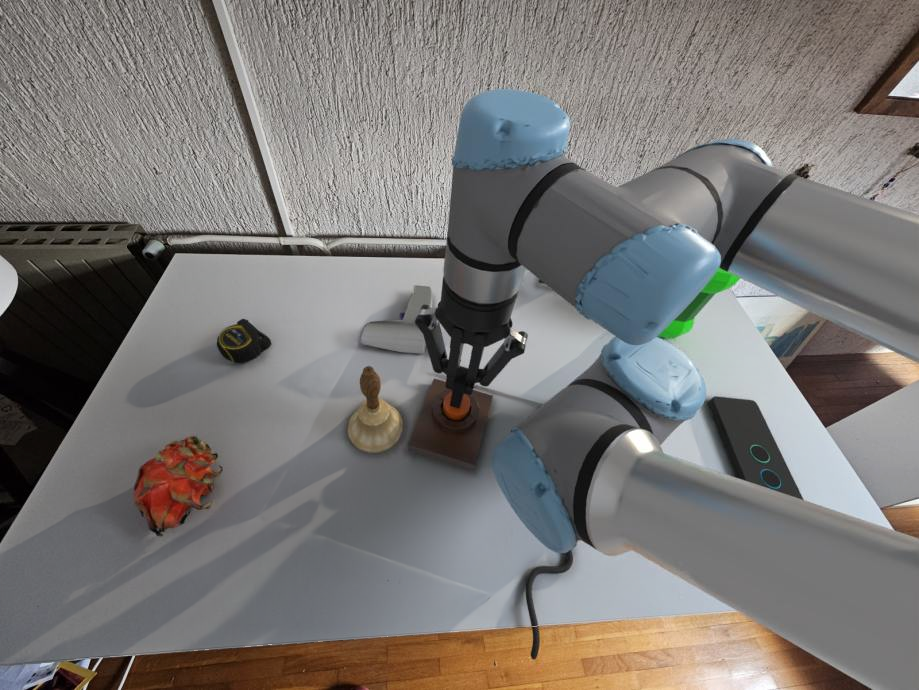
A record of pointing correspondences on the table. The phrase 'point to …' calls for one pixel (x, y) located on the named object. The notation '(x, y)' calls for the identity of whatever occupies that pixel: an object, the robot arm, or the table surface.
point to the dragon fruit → (175, 483)
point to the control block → (450, 428)
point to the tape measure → (242, 342)
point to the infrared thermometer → (400, 327)
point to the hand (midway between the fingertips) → (457, 399)
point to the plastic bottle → (699, 304)
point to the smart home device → (751, 445)
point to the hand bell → (374, 418)
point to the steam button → (455, 412)
